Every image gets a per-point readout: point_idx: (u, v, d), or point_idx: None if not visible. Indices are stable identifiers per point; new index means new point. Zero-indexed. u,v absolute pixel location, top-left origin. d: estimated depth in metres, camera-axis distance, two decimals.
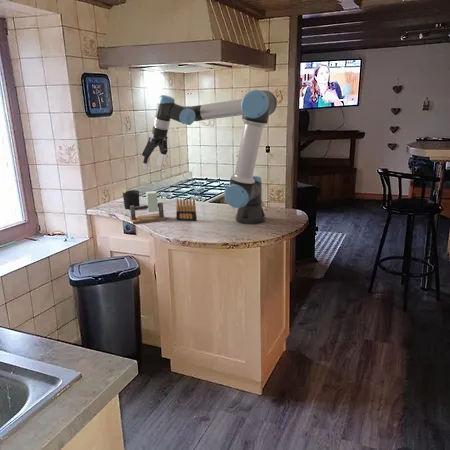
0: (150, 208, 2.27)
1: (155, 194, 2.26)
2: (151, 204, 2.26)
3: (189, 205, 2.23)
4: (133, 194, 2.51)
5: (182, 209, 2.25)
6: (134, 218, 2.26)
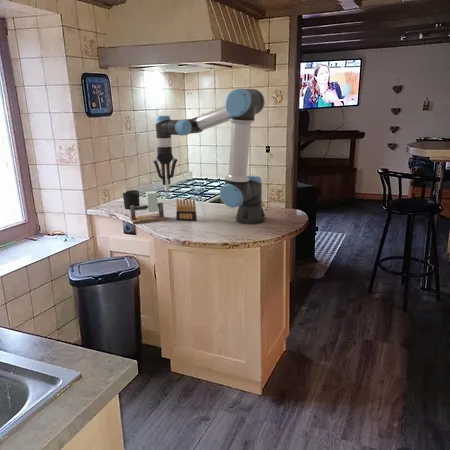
0: (150, 208, 2.27)
1: (155, 194, 2.26)
2: (151, 204, 2.26)
3: (189, 205, 2.23)
4: (133, 194, 2.51)
5: (182, 209, 2.25)
6: (134, 218, 2.26)
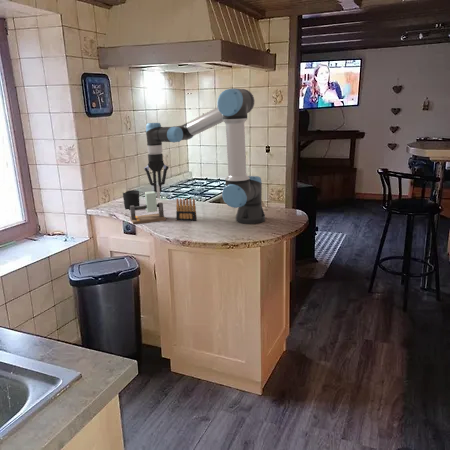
0: (149, 208, 2.27)
1: (154, 194, 2.26)
2: (150, 204, 2.26)
3: (189, 205, 2.23)
4: (133, 194, 2.51)
5: (182, 209, 2.25)
6: (134, 218, 2.26)
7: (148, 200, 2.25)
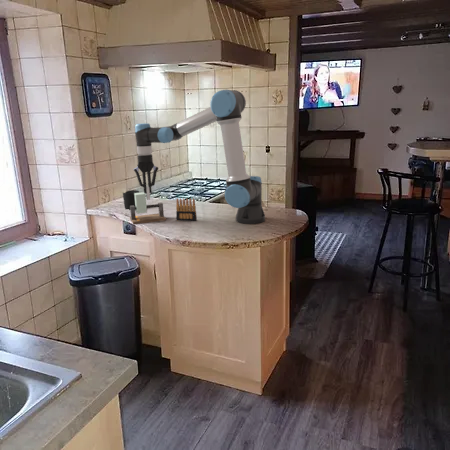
0: (139, 209, 2.25)
1: (144, 195, 2.24)
2: (140, 205, 2.25)
3: (189, 205, 2.23)
4: (133, 194, 2.51)
5: (182, 209, 2.25)
6: (134, 218, 2.26)
7: (138, 201, 2.24)
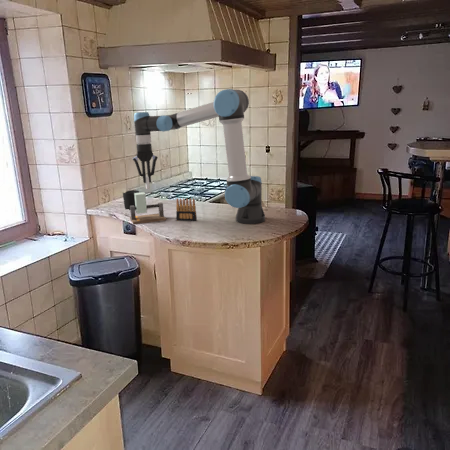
0: (139, 209, 2.25)
1: (144, 195, 2.24)
2: (140, 205, 2.25)
3: (189, 205, 2.23)
4: (133, 194, 2.51)
5: (182, 209, 2.25)
6: (134, 218, 2.26)
7: (138, 201, 2.24)
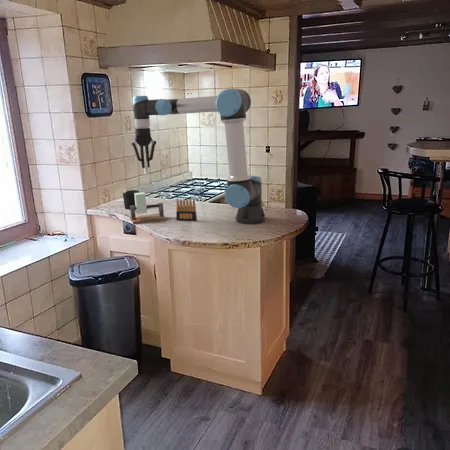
0: (139, 209, 2.25)
1: (144, 195, 2.24)
2: (140, 205, 2.25)
3: (189, 205, 2.23)
4: (133, 194, 2.51)
5: (182, 209, 2.25)
6: (134, 218, 2.26)
7: (138, 201, 2.24)
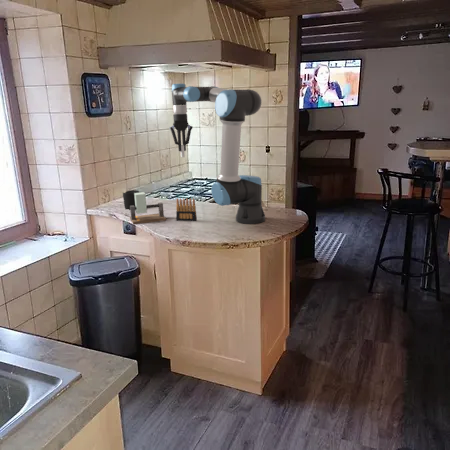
0: (139, 209, 2.25)
1: (144, 195, 2.24)
2: (140, 205, 2.25)
3: (189, 205, 2.23)
4: (133, 194, 2.51)
5: (182, 209, 2.25)
6: (134, 218, 2.26)
7: (138, 201, 2.24)
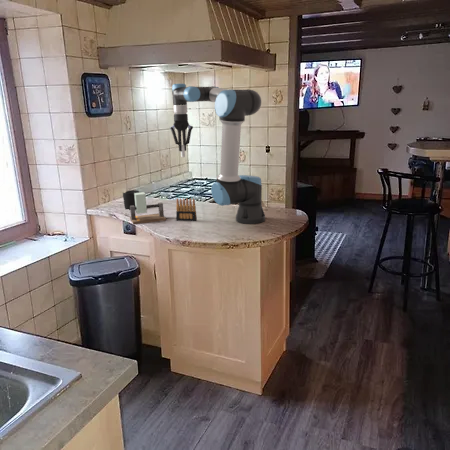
0: (139, 209, 2.25)
1: (144, 195, 2.24)
2: (140, 205, 2.25)
3: (189, 205, 2.23)
4: (133, 194, 2.51)
5: (182, 209, 2.25)
6: (134, 218, 2.26)
7: (138, 201, 2.24)
